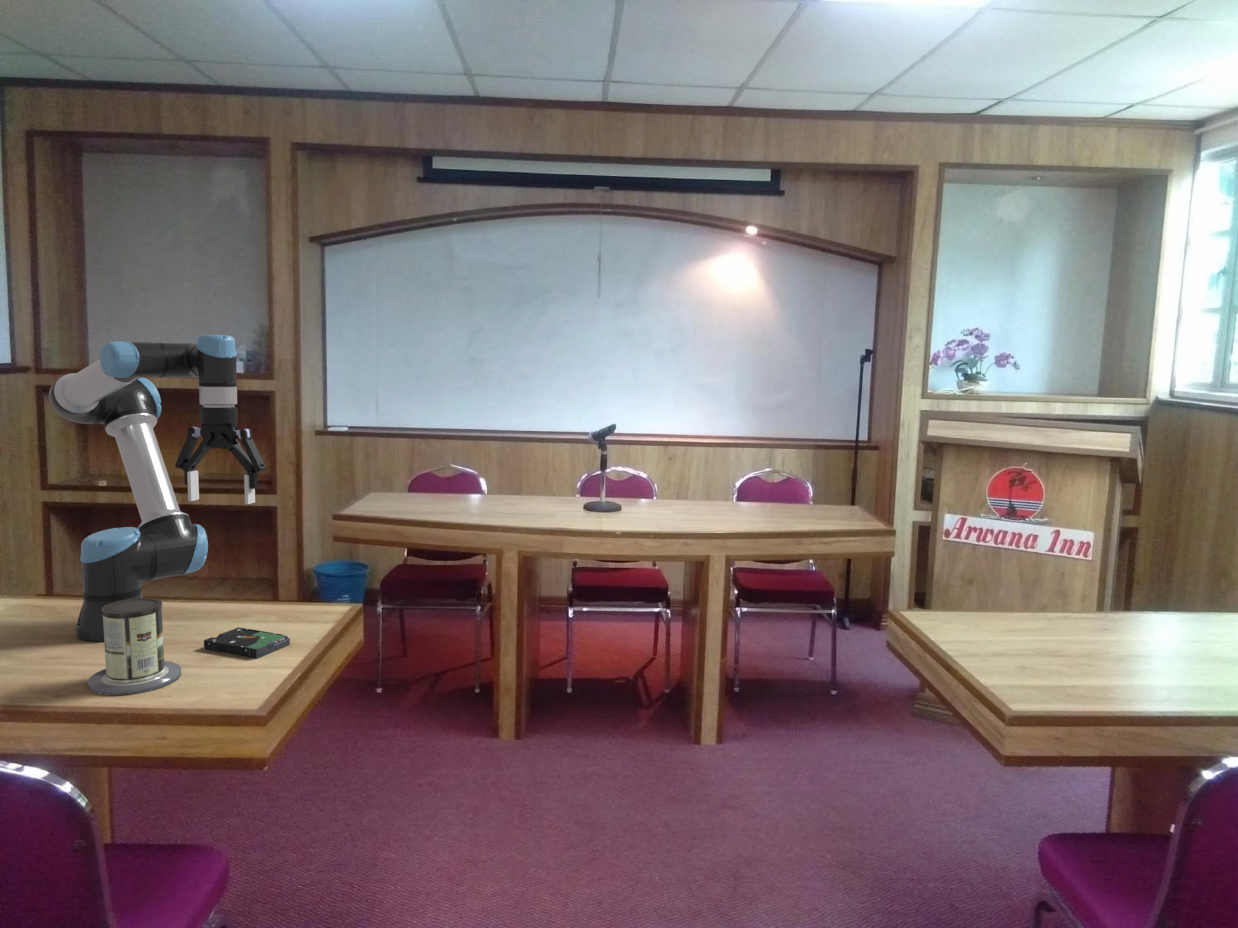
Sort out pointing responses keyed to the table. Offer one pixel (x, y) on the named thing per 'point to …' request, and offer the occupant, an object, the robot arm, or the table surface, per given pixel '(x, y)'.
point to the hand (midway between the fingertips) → (221, 501)
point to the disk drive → (247, 643)
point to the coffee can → (133, 640)
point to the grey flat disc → (103, 686)
